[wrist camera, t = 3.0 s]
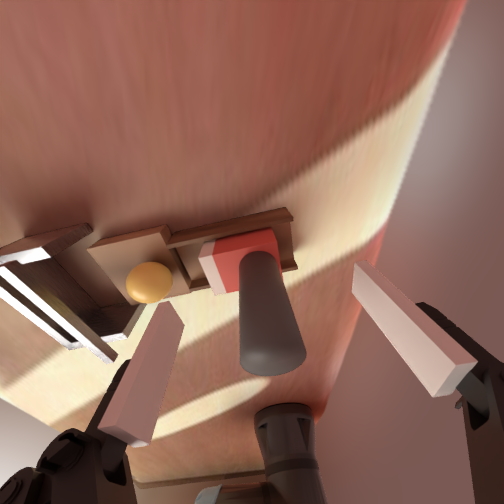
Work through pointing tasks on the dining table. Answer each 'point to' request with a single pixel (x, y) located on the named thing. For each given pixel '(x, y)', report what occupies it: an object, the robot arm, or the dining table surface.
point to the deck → (140, 258)
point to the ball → (149, 282)
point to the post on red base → (256, 299)
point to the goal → (61, 294)
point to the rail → (193, 238)
